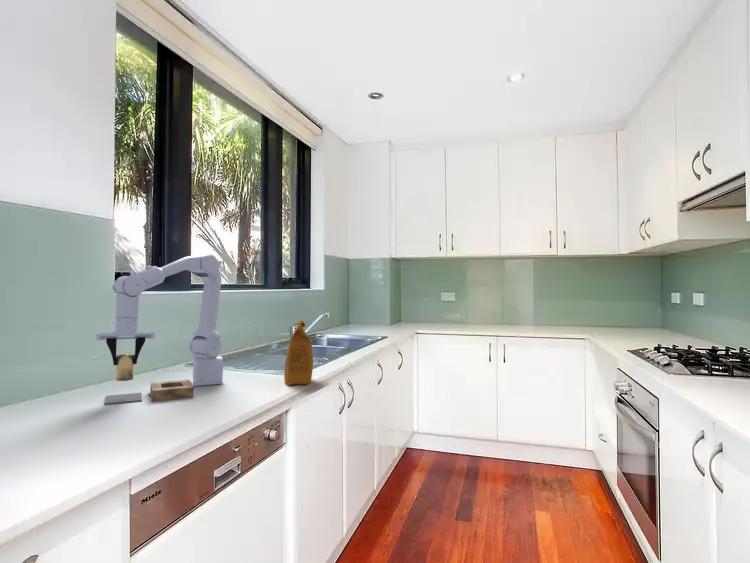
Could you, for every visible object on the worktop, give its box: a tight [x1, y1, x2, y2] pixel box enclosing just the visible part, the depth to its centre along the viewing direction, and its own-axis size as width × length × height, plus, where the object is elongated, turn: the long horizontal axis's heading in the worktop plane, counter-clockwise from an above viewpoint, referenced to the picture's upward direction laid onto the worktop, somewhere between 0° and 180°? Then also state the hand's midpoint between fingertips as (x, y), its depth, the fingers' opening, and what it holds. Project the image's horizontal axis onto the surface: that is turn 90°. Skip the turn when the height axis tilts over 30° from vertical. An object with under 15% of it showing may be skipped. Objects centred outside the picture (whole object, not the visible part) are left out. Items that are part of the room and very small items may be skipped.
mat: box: [104, 392, 143, 406], centre depth 121 cm, size 9×9×1 cm
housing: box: [149, 379, 195, 402], centre depth 127 cm, size 11×11×3 cm
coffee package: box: [283, 319, 314, 386], centre depth 149 cm, size 10×12×22 cm
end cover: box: [115, 353, 135, 382], centre depth 121 cm, size 4×4×7 cm
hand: (125, 364), depth 121 cm, fingers closed on end cover, 4 cm apart
